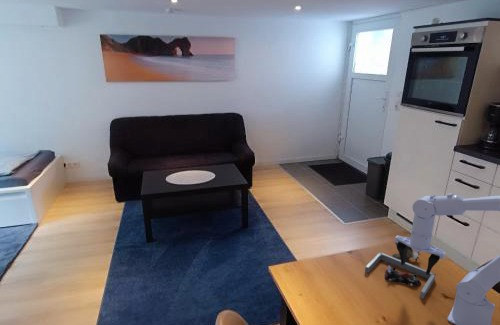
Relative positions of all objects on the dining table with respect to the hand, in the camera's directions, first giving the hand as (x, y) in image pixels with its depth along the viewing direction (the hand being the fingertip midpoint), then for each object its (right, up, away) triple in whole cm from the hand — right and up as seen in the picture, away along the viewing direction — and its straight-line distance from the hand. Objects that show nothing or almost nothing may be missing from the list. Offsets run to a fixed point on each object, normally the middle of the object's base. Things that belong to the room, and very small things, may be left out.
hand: (415, 268), depth 101 cm
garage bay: (0, -7, +11) cm, 12 cm away
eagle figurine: (+7, -3, +21) cm, 23 cm away
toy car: (0, -8, +9) cm, 12 cm away
